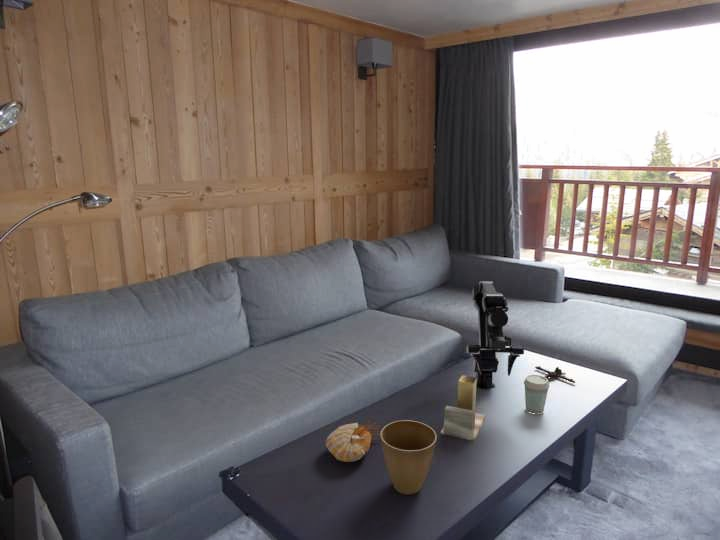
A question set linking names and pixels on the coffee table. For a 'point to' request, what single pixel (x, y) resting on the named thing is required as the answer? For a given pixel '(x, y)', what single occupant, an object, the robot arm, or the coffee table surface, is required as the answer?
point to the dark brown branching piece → (554, 374)
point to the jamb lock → (462, 423)
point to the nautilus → (350, 441)
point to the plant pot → (408, 453)
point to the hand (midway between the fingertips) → (495, 375)
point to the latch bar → (467, 393)
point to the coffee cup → (535, 393)
